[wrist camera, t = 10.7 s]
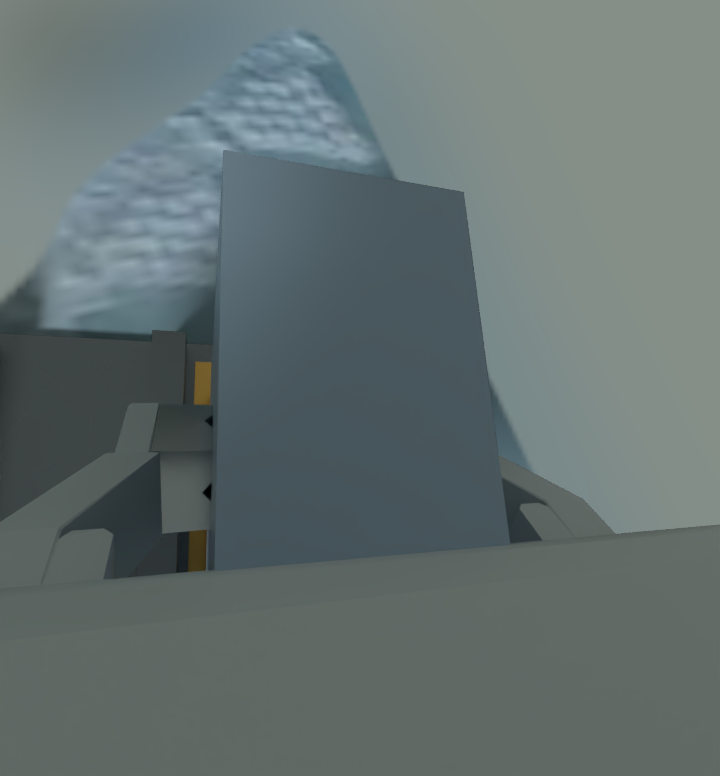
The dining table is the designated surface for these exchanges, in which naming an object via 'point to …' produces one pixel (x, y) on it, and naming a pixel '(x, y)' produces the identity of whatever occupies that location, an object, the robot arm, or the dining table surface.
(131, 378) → the rack
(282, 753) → the robot arm
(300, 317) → the blue-grey rectangular block
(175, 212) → the dining table surface
